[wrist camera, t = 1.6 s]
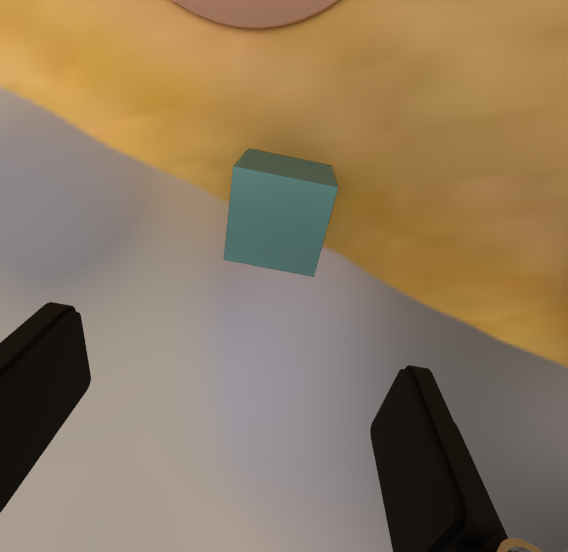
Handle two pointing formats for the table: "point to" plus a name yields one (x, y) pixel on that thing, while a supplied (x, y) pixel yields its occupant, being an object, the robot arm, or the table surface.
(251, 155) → the teal block
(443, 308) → the table surface
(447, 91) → the table surface
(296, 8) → the terracotta disc
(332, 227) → the table surface
